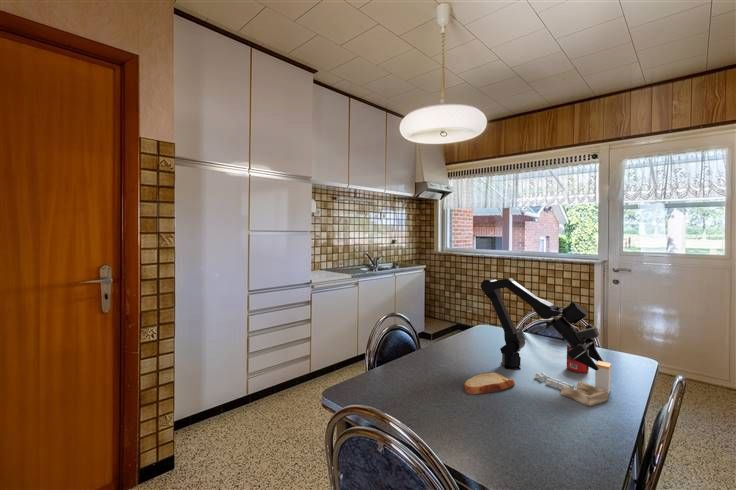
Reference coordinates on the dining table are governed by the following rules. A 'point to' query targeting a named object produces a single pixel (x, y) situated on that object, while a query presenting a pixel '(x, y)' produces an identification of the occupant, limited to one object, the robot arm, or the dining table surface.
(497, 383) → the bread slice
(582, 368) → the canned food
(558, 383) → the clip
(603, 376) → the orange-topped block
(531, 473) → the dining table surface
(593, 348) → the robot arm
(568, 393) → the holder
